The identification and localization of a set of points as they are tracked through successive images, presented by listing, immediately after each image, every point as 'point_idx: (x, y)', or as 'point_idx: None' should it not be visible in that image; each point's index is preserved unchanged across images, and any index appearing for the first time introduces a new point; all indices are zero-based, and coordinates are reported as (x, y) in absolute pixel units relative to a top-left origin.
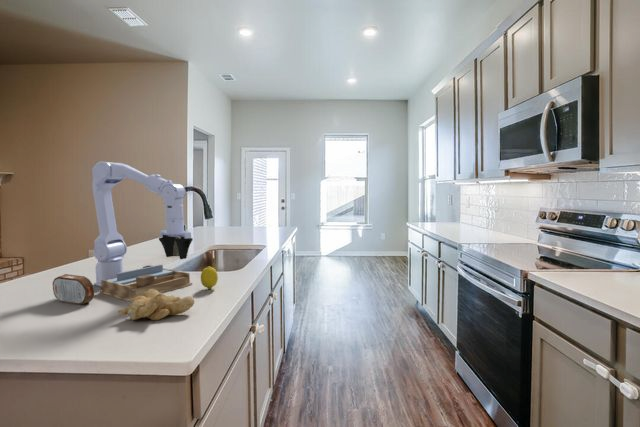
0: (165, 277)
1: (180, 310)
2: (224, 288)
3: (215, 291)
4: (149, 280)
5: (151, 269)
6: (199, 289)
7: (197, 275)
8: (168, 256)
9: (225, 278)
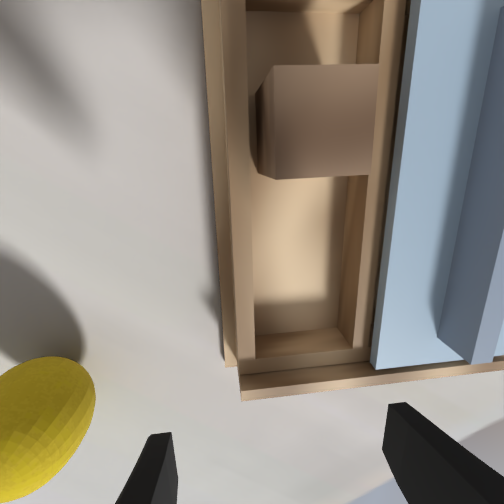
0: (354, 301)
1: None
2: None
3: (3, 364)
4: (269, 132)
5: (474, 278)
6: (109, 337)
7: (349, 447)
8: (390, 416)
9: (190, 491)
